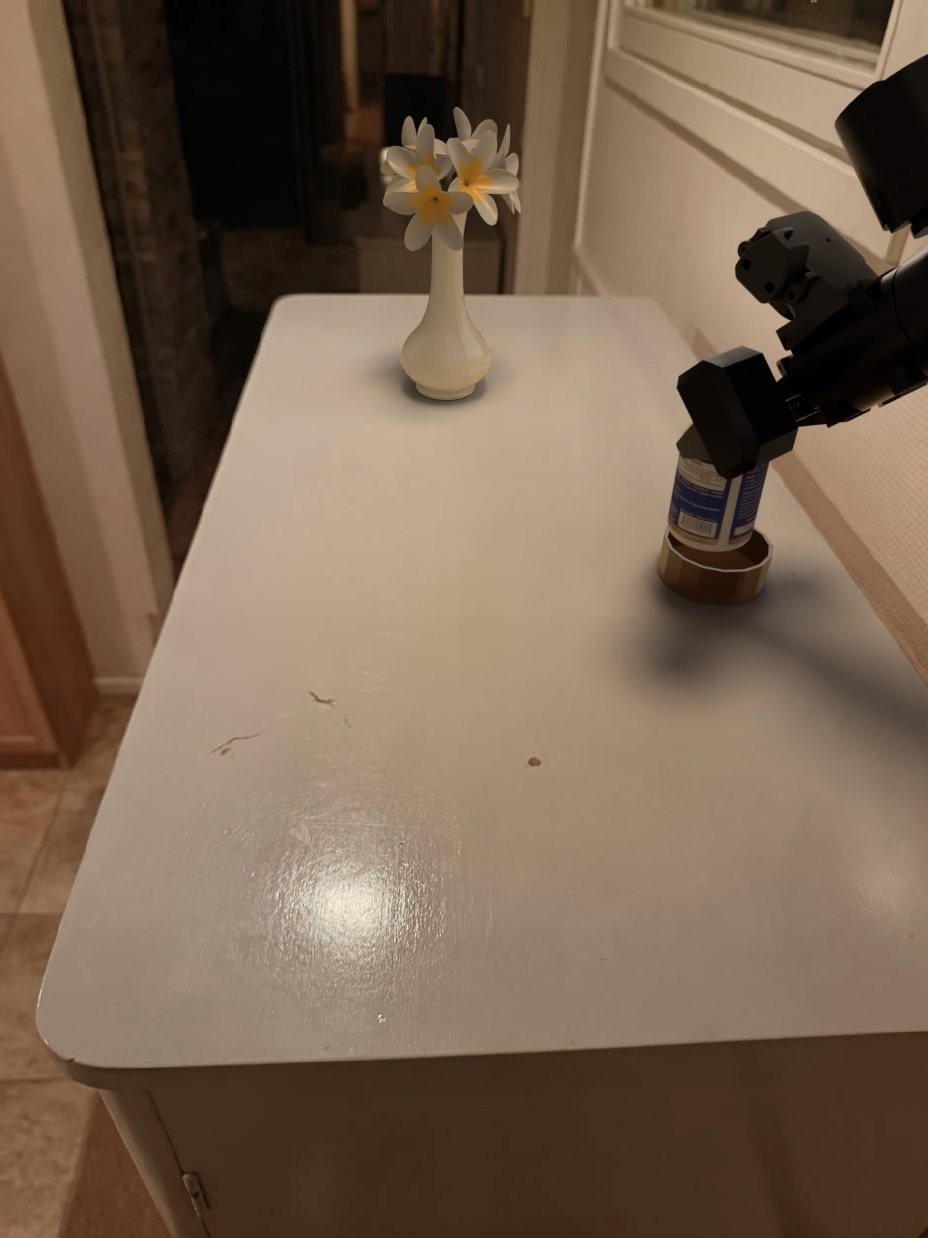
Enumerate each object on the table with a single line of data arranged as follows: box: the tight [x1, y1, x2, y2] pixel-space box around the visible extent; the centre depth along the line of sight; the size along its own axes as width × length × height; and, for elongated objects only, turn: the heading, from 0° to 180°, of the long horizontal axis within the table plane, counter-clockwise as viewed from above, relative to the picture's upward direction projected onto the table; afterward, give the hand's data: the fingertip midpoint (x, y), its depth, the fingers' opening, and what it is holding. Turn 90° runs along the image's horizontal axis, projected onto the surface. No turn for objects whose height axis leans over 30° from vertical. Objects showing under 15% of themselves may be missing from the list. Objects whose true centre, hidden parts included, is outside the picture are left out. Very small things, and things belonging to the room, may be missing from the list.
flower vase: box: [380, 106, 522, 401], centre depth 84 cm, size 13×18×25 cm
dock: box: [657, 525, 774, 606], centre depth 66 cm, size 8×8×3 cm
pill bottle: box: [667, 420, 771, 552], centre depth 57 cm, size 6×6×10 cm
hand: (710, 437), depth 57 cm, fingers closed on pill bottle, 6 cm apart
